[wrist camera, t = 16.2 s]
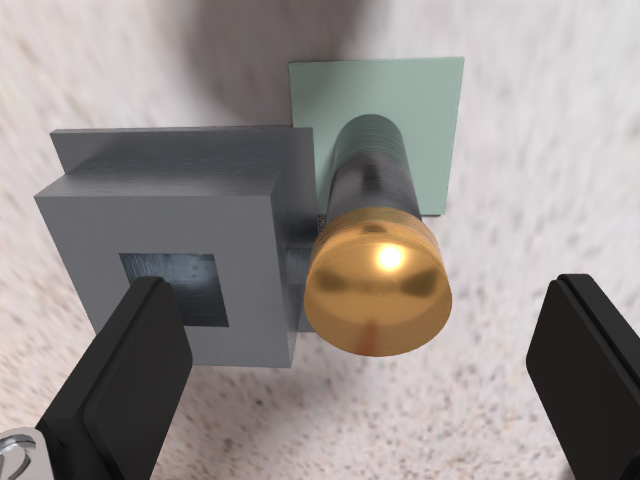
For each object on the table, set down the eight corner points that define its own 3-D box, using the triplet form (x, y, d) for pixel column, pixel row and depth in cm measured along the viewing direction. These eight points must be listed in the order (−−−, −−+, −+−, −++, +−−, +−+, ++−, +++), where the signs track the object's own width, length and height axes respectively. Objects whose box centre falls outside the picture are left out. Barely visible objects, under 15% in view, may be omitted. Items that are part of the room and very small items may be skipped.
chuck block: (130, 321, 30) (93, 377, 26) (56, 129, 23) (-13, 166, 19) (405, 328, 29) (413, 390, 24) (423, 122, 21) (438, 161, 17)
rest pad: (301, 210, 24) (300, 214, 24) (289, 62, 20) (288, 64, 20) (443, 210, 24) (444, 214, 23) (462, 56, 19) (464, 58, 19)
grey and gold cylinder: (329, 108, 21) (298, 244, 11) (412, 106, 20) (461, 245, 10) (331, 183, 23) (308, 354, 13) (406, 183, 23) (443, 358, 12)
